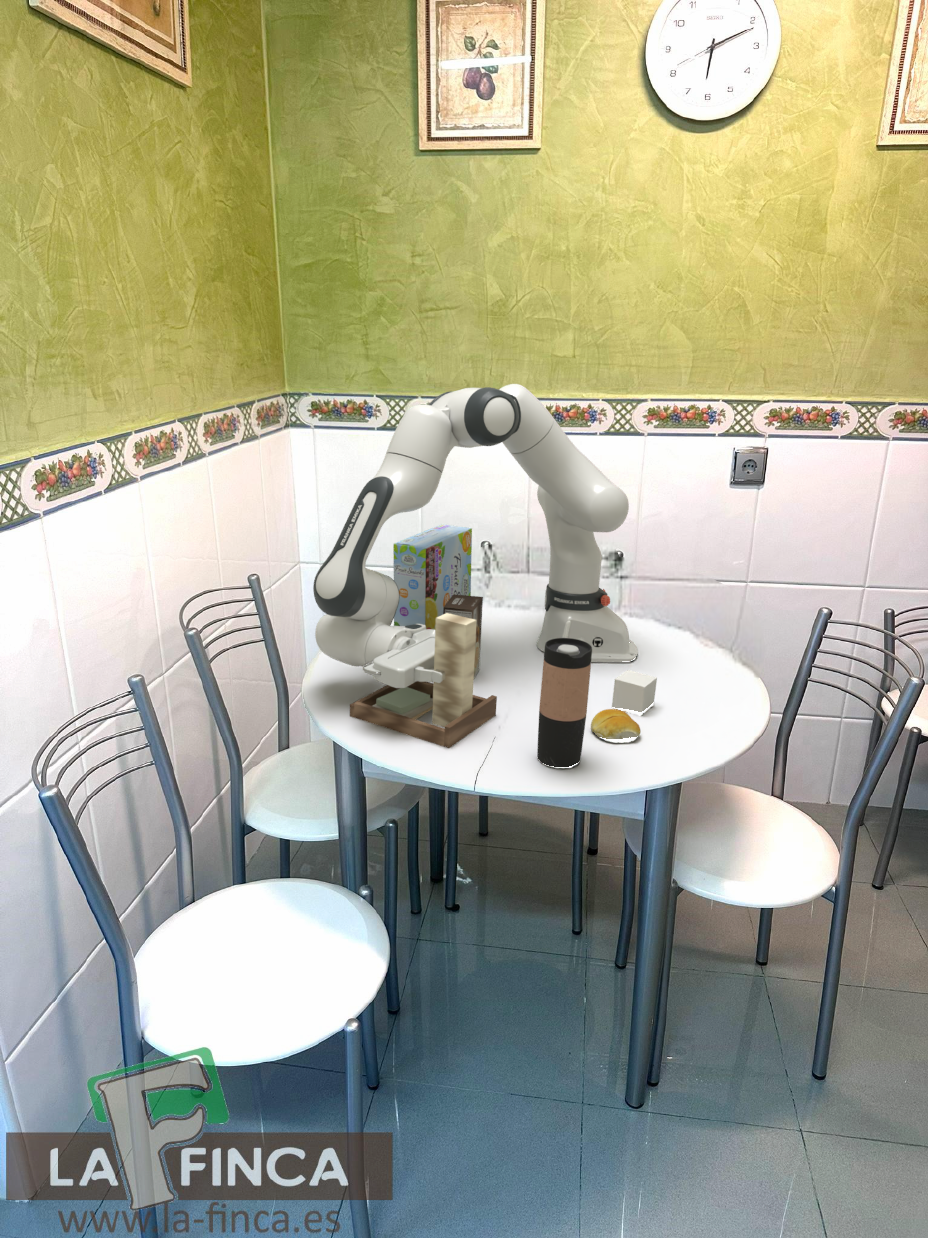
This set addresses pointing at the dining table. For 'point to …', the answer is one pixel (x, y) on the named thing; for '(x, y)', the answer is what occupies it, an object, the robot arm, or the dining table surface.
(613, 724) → the bread roll
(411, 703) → the offcut top
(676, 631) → the dining table surface
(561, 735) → the travel mug
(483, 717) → the tray
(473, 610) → the coffee box
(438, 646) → the beige tall rectangular block
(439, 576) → the snack box
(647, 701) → the off-white cube
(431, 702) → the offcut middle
